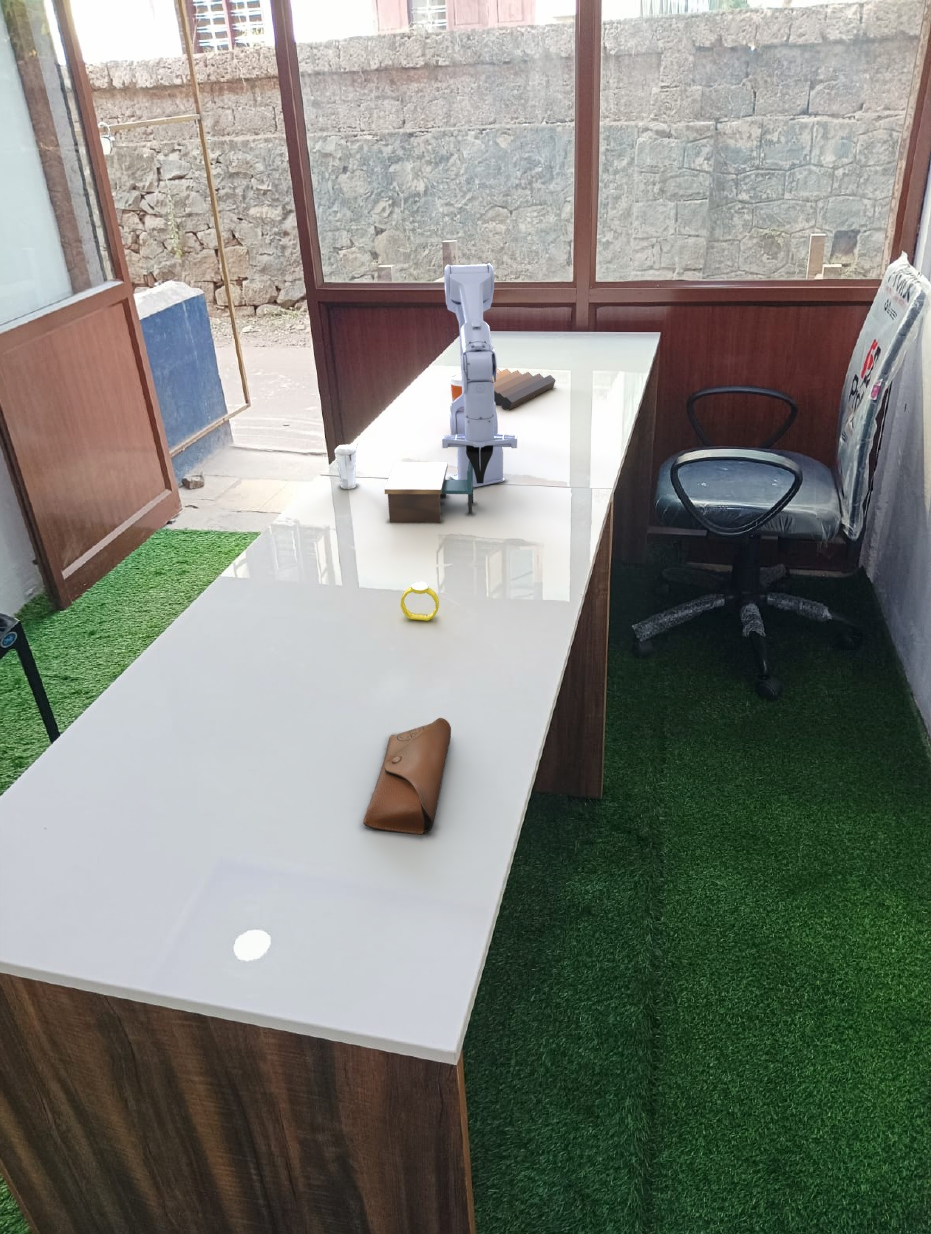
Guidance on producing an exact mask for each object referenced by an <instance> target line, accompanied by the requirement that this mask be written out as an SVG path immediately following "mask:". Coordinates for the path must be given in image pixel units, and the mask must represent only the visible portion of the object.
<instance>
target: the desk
mask: <svg viewBox="0 0 931 1234" xmlns="http://www.w3.org/2000/svg"><path fill="white" fill-rule="evenodd" d="M448 468H449V463H448V462H432V461H431V462H426V461H425V462H422V461H421V462H419V461H417V462H411V461H410V462H409V461H408V462H407V461H406V462H404V461H403V462H402V461H401V462H399V461H398V462H397V461H395V462H394V464H393V466H392V469H391V471H390V474H389V477H388V480H387V482H386V484H385V487H384V495H387V503H388V517H389V523H392V524H393V523H396V524H397V523H400V524H401V523H402V524H403V523H404V524H405V523H406V524H408V523H409V524H411V523H412V524H413V523H414V524H415V523H416V524H417V523H418V524H441V499H442V498H443V499H446V497H447V494H442V490H443V485H444V481H445V480H447V478H446V477H447V471H448Z"/></svg>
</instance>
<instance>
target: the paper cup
mask: <svg viewBox="0 0 931 1234" xmlns="http://www.w3.org/2000/svg"><path fill="white" fill-rule="evenodd" d="M449 384H450V390H451V391H450V392H451V401H452V402H453V401H454V400H456V399H457V398H458V397H459V396H460V395H461V394H462V377H461V372H460V373H456V374H453V375H452V376H451V377H450V380H449ZM452 402H451V403H452ZM458 411H464V409H461V410H458Z"/></svg>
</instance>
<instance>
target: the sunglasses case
mask: <svg viewBox="0 0 931 1234" xmlns="http://www.w3.org/2000/svg"><path fill="white" fill-rule="evenodd" d="M451 736H452V726H451V724H450V723H449V721H448V720H447V719H446V718H444V717H438V718H436V719H435V720H434V721H432V722H430V723H428V724H425V725H424V724H423V725H422V726H418V727H415V728H412V729H410V730H406V731H403V732H401V733H397V734H391V735H390V736H389V738H388V741H387V745H386V750H385V754H384V758H383V762H382V766H381V769H380V772H379V775H378V777H377V781H376V784H375V787H374V790H373V793H372V796H371V798H370V801H369V804H368V806H367V808H366V812H365V815H364V817H363V821H362V823H363V825H364V826H366V827H367V828H371V829H376V830H380V831H384V832H385V831H386V832H392V833H401V834H411V835H424V834H427V833H429V832H430V831H432V828H433V827H434V823H435V819H436V814H437V809H438V803H439V799H440V794H441V789H442V783H443V778H444V772H445V766H446V761H447V757H448V753H449V748H450V747H449V746H450V743H451V738H452V737H451Z"/></svg>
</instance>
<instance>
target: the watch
mask: <svg viewBox="0 0 931 1234" xmlns="http://www.w3.org/2000/svg"><path fill="white" fill-rule="evenodd" d="M411 593H414V594H418V595H424V594H427V595H428V596H431V598H432V600H433V601H434V604H435V607H434V610H433V611H432V612H431V613H429V614H428V615H427V614H419V613H412V612H411V611H410V610H409V609H408V608H407V606H406V604H405V599H406V597H407V596H408V594H411ZM439 608H440V599H439V596H438V595H437V593H436V591H434V589H432V588H431V587H430V586H429V584H428V583H426V582H424V581H417V582H414V583H412V584H411V586H410V587H407V589H406V590H405V591H404V592H403V594H402V596H401V598H400V609H401V611H402V613H403V615H404V616H405V617H406V618H408V619H409V620H417V621H426V622H428V621H430V620H432V619H434V618H435V616H436V615H437V613H438V611H439Z"/></svg>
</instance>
